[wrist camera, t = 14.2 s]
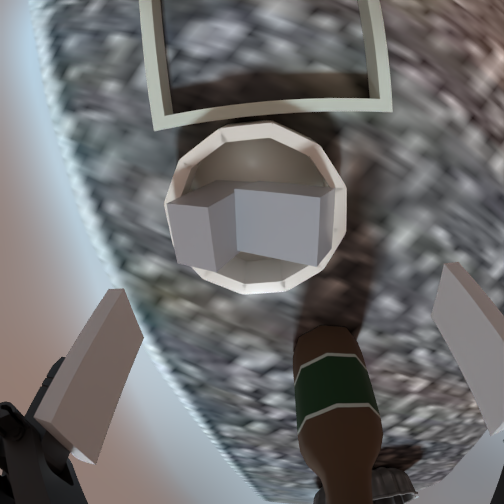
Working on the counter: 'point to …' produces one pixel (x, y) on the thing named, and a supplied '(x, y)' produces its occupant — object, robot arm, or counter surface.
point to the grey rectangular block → (205, 225)
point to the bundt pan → (384, 487)
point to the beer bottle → (336, 413)
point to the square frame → (167, 119)
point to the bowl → (260, 169)
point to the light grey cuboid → (285, 221)
